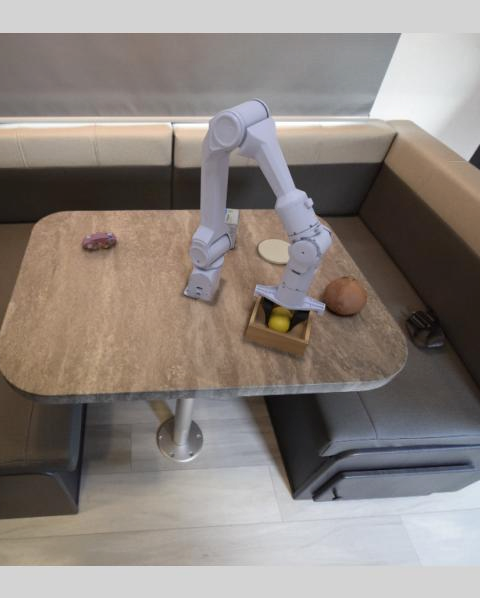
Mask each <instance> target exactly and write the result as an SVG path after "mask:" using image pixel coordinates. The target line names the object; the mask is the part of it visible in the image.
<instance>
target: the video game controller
mask: <svg viewBox="0 0 480 598" xmlns="http://www.w3.org/2000/svg"><path fill="white" fill-rule="evenodd" d="M116 243H117V236H116V234H115V233H113V232H110V231H109V232H102V231H98V232H95V233H92V234H88V235H86V236H84V237H83V238H82V240H81V245H82V247H83V248H85V249H90V250H93V251H96V250H98V249H99V244H101V248H102V249H108V248H109V247H111V246H112V245H115V244H116Z"/></svg>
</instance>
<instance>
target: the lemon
mask: <svg viewBox="0 0 480 598" xmlns="http://www.w3.org/2000/svg"><path fill="white" fill-rule="evenodd" d="M290 322H291V313H290V311H289V310H288V309H286V308H283V307H277V308H275V309H274V310H273V311H272V312H271V315H270V318H269V322H268V326H269V328H270V329H272V330H275V331H278V332H281V333H285V332H286V331H287V330H288V329H289V326H290Z"/></svg>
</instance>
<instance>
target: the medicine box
mask: <svg viewBox="0 0 480 598" xmlns="http://www.w3.org/2000/svg"><path fill="white" fill-rule="evenodd" d="M239 219H240V209H235V208H227V207H226V211H225V224H226V225H227V226H229V227H230V237H231V239H232V247H231V250H232V249H234V247H235V243H236V238H237V234H238V233H237V232H238V228H239Z"/></svg>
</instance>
